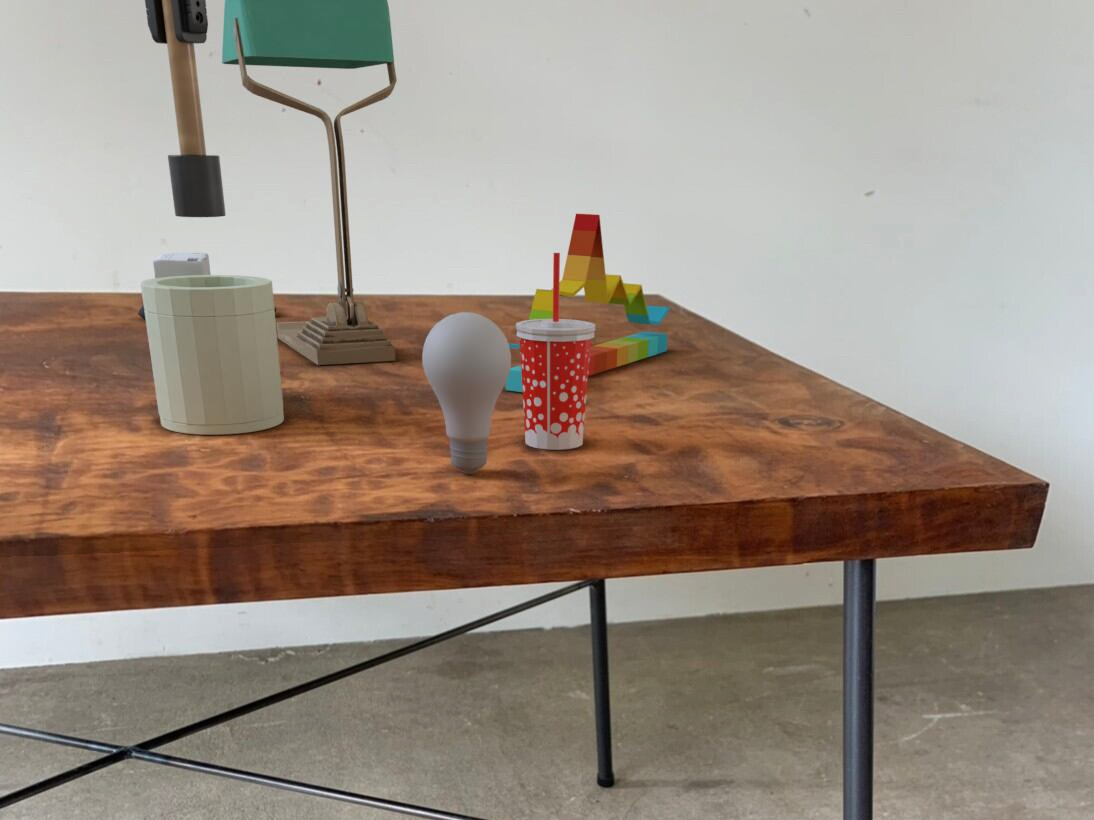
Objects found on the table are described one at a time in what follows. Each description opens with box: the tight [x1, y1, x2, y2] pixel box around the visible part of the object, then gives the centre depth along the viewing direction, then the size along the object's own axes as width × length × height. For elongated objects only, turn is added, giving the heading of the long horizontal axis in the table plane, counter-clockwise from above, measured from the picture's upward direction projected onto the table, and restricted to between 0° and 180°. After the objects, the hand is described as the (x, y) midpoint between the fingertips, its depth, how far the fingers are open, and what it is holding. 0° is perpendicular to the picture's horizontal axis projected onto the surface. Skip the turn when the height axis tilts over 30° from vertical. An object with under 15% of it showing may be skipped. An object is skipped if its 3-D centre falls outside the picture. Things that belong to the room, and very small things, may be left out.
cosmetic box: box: [152, 252, 211, 278], centre depth 102 cm, size 6×4×12 cm
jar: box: [140, 274, 285, 436], centre depth 95 cm, size 10×10×11 cm
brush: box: [162, 0, 227, 218], centre depth 82 cm, size 4×4×16 cm
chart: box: [505, 213, 670, 393], centre depth 119 cm, size 30×3×15 cm, turn 150°
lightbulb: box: [421, 311, 512, 475], centre depth 81 cm, size 6×6×11 cm
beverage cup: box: [515, 252, 596, 451], centre depth 89 cm, size 6×6×14 cm
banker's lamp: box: [221, 0, 398, 366], centre depth 123 cm, size 16×21×35 cm
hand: (180, 41), depth 81 cm, fingers closed on brush, 2 cm apart
